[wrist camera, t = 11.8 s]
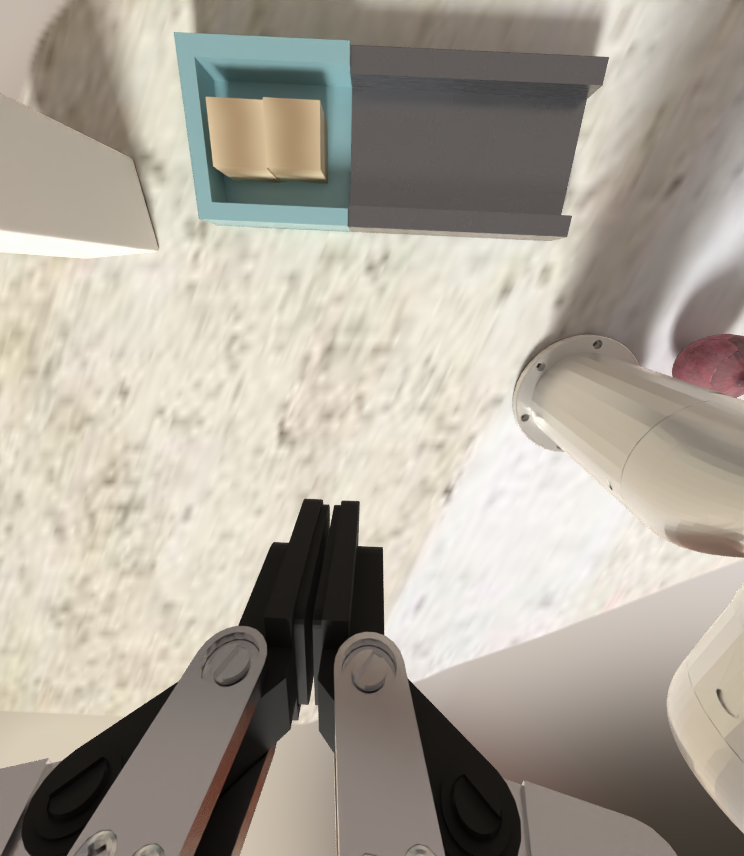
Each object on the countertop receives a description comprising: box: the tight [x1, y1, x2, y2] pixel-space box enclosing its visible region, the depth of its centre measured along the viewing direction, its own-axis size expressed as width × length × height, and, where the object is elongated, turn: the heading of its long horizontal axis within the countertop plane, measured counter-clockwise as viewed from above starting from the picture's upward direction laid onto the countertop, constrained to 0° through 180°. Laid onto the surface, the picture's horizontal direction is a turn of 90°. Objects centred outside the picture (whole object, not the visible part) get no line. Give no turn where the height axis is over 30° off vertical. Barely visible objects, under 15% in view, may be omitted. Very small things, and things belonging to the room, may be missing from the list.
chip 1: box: [206, 97, 281, 183], centre depth 27 cm, size 4×4×4 cm
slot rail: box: [348, 45, 609, 241], centre depth 27 cm, size 18×11×3 cm, turn 88°
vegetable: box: [672, 334, 744, 398], centre depth 30 cm, size 6×6×10 cm
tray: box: [174, 32, 352, 232], centre depth 27 cm, size 12×11×4 cm
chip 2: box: [263, 97, 328, 184], centre depth 27 cm, size 4×4×4 cm
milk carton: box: [0, 93, 158, 258], centre depth 22 cm, size 7×7×19 cm
